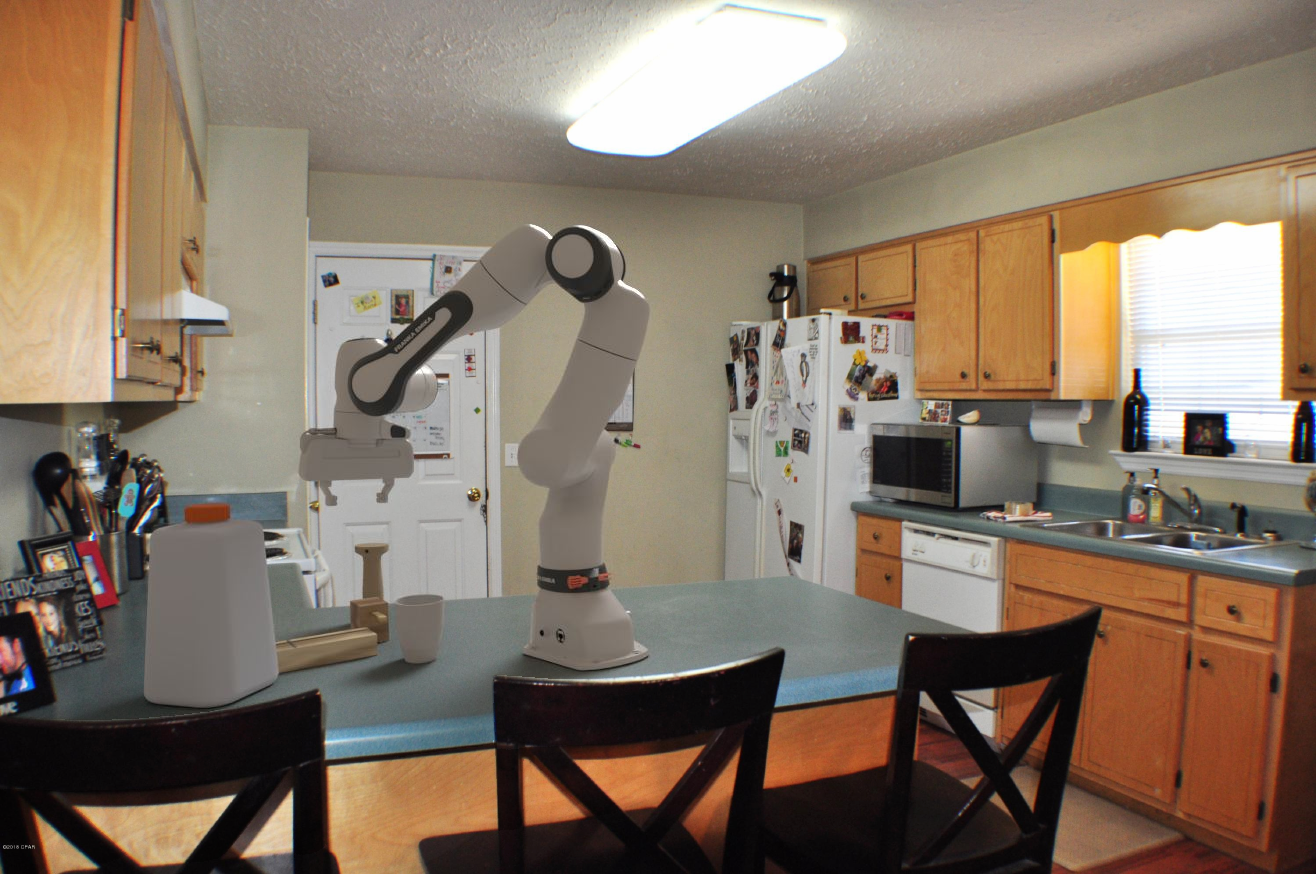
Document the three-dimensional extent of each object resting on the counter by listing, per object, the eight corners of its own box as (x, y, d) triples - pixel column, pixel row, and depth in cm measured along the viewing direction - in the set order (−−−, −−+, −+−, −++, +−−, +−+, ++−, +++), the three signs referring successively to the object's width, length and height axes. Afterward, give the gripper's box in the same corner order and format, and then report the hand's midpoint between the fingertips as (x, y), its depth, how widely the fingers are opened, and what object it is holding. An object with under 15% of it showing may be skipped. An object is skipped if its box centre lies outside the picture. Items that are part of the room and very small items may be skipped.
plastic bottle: (291, 678, 133) (285, 500, 132) (218, 713, 118) (211, 512, 117) (210, 672, 137) (204, 498, 136) (129, 704, 122) (122, 510, 121)
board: (377, 654, 145) (377, 633, 145) (277, 673, 136) (276, 651, 135) (366, 646, 150) (366, 626, 150) (268, 664, 140) (268, 642, 140)
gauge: (398, 647, 150) (397, 607, 149) (370, 652, 147) (368, 612, 146) (378, 634, 159) (377, 596, 158) (351, 638, 156) (349, 600, 155)
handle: (384, 623, 166) (382, 547, 165) (352, 623, 166) (350, 547, 166) (394, 617, 171) (392, 542, 170) (363, 617, 171) (361, 543, 171)
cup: (427, 649, 148) (425, 592, 148) (456, 657, 143) (454, 598, 142) (385, 660, 142) (384, 600, 141) (414, 669, 137) (413, 607, 136)
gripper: (307, 429, 144) (305, 510, 145) (419, 429, 158) (416, 503, 159) (294, 426, 149) (291, 505, 150) (403, 427, 163) (401, 499, 164)
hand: (357, 504), depth 154 cm, fingers open, 8 cm apart
